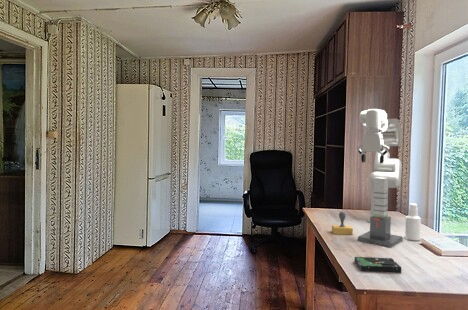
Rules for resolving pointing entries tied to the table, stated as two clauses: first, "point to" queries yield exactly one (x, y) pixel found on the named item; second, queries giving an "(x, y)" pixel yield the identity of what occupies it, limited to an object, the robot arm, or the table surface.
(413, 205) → the spray bottle
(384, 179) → the block
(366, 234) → the jack stand base
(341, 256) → the table surface
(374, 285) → the table surface
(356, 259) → the disk drive
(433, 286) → the table surface
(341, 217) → the rubber stamp
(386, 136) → the robot arm
